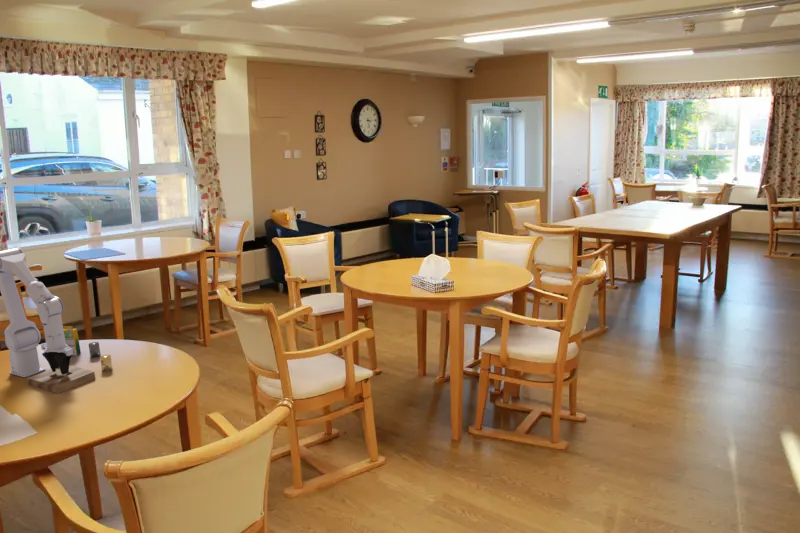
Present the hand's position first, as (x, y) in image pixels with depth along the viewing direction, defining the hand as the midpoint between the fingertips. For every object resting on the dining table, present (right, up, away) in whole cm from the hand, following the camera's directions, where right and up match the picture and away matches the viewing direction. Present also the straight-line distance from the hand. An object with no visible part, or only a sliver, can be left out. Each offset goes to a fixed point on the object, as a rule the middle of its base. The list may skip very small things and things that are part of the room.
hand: (60, 372), depth 235 cm
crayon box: (-10, +2, +27) cm, 29 cm away
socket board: (0, -3, +1) cm, 3 cm away
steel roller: (0, -3, +1) cm, 4 cm away
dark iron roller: (+1, +2, +24) cm, 24 cm away
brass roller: (+12, -1, +10) cm, 15 cm away
